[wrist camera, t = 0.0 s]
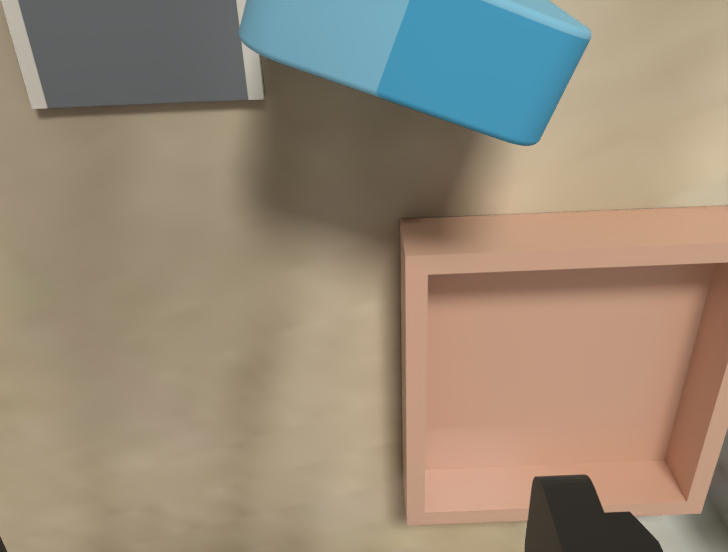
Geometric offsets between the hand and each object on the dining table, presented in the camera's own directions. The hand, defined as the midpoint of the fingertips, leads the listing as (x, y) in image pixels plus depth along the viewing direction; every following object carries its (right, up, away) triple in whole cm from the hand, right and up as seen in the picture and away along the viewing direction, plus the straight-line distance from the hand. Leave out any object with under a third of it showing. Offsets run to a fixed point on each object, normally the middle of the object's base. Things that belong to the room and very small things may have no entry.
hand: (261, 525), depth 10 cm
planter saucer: (+14, -2, +35) cm, 38 cm away
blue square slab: (+3, +18, +24) cm, 30 cm away
